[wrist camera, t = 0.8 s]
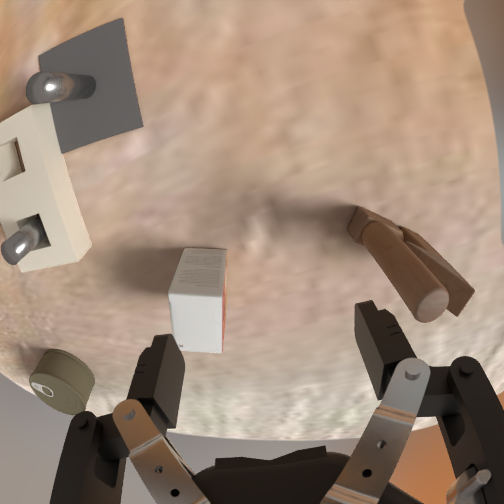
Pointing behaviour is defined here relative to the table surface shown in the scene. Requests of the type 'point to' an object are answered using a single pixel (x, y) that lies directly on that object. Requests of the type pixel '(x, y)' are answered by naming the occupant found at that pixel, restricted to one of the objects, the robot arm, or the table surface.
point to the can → (62, 381)
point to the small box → (199, 300)
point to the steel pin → (59, 87)
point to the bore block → (39, 189)
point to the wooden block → (412, 266)
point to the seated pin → (23, 241)
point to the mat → (107, 87)
